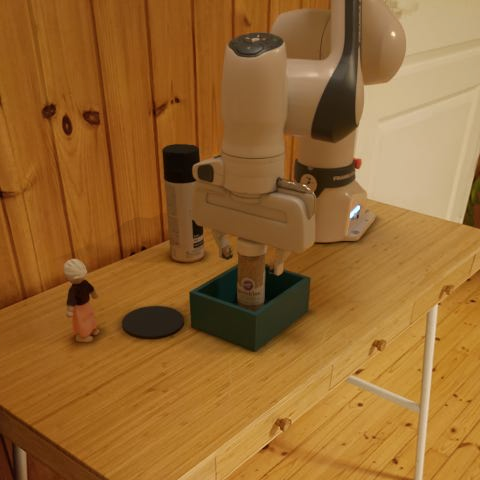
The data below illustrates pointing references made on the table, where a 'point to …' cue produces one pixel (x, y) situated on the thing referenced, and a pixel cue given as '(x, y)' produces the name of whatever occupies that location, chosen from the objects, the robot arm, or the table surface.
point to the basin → (243, 320)
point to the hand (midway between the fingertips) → (250, 265)
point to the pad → (153, 322)
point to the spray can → (182, 202)
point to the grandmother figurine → (80, 301)
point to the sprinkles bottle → (251, 274)
